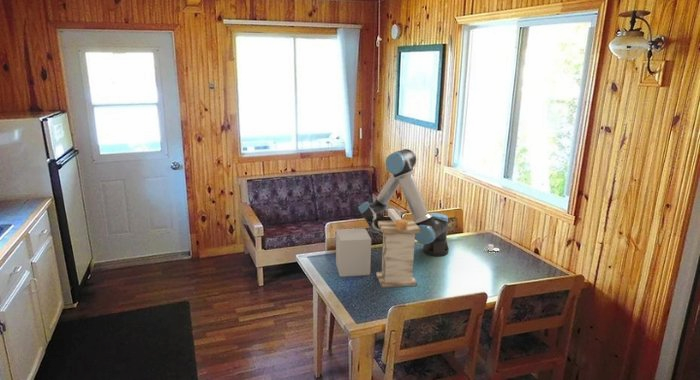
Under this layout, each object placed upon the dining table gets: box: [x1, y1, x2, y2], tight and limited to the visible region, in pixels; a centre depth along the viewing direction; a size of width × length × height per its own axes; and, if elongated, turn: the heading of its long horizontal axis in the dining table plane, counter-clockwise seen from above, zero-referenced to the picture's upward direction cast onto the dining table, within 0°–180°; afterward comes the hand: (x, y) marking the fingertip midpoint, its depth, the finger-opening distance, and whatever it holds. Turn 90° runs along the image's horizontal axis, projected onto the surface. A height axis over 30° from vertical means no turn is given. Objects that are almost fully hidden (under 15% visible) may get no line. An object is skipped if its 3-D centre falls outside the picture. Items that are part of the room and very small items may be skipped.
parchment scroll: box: [375, 219, 421, 288], centre depth 227 cm, size 14×18×30 cm
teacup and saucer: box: [485, 243, 500, 252], centre depth 269 cm, size 9×8×4 cm
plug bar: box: [387, 208, 408, 230], centre depth 227 cm, size 24×4×4 cm, turn 9°
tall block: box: [335, 227, 372, 277], centre depth 240 cm, size 16×16×20 cm
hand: (387, 215), depth 242 cm, fingers open, 13 cm apart
